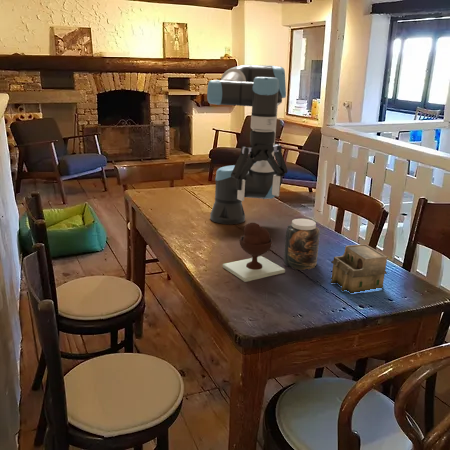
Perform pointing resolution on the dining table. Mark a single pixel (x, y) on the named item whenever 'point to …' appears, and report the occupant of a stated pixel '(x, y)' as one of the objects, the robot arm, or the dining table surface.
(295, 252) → the jar
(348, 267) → the miniature house
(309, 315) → the dining table surface
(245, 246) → the ice cream bowl
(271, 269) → the board
